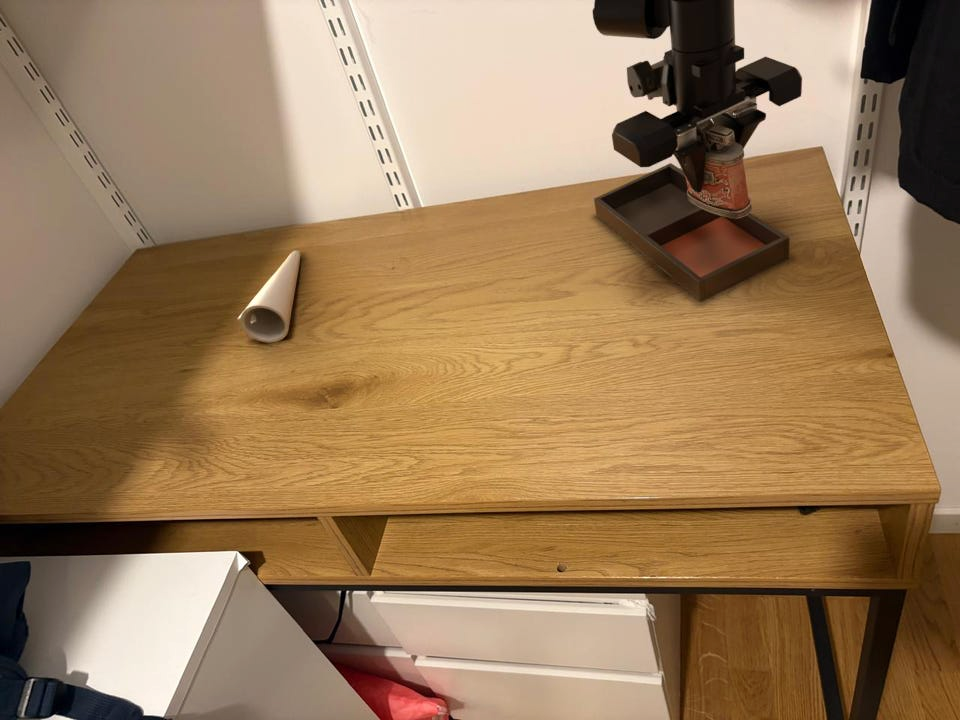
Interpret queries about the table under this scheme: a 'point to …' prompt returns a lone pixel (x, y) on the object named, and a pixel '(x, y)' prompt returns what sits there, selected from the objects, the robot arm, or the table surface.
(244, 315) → the long tapered cone
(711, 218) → the divided tray
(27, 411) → the table surface
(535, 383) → the table surface
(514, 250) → the table surface
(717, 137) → the lighter
